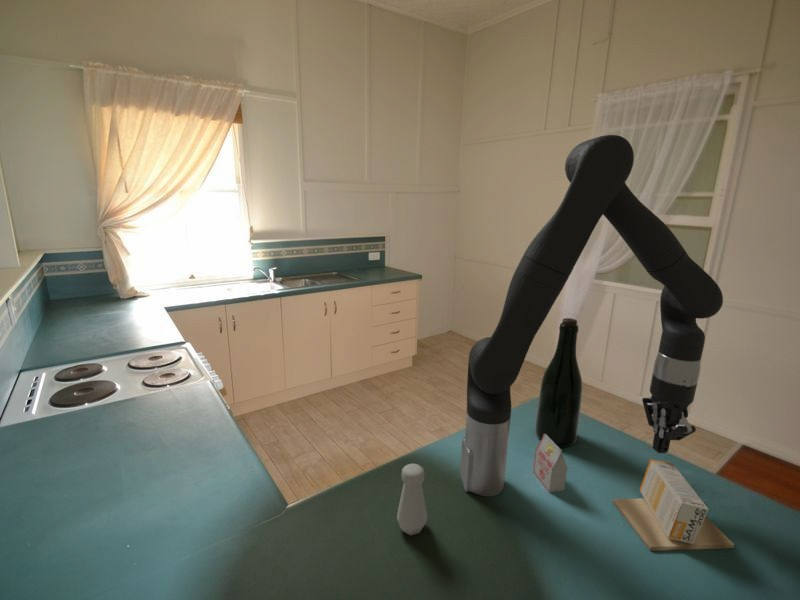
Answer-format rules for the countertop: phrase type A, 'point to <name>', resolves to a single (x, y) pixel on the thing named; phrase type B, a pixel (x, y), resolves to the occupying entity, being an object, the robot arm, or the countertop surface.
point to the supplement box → (673, 501)
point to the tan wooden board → (655, 536)
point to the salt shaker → (412, 500)
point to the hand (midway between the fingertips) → (659, 451)
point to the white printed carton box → (550, 465)
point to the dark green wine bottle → (561, 390)
